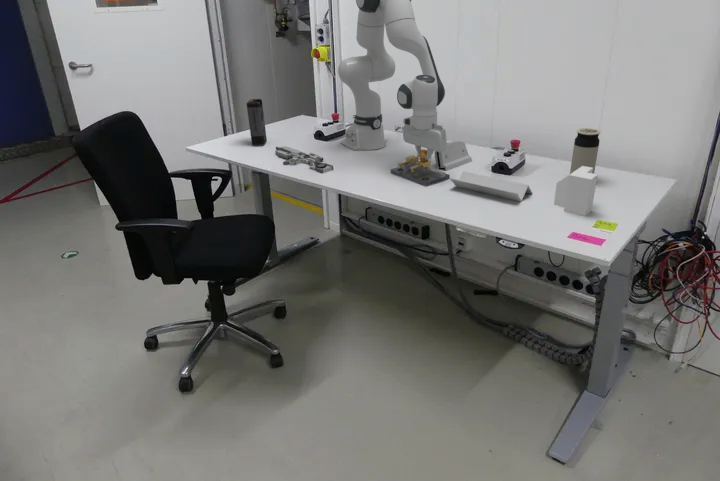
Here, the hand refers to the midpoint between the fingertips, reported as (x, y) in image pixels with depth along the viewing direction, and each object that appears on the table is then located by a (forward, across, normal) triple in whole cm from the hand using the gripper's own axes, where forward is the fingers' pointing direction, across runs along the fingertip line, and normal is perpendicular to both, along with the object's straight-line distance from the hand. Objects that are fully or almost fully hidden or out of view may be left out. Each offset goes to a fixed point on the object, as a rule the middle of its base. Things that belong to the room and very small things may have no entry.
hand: (424, 158), depth 198 cm
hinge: (+7, +1, -17) cm, 18 cm away
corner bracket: (+7, -55, -14) cm, 57 cm away
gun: (+7, +49, +27) cm, 56 cm away
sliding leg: (+5, 0, +2) cm, 5 cm away
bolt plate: (+6, 0, +2) cm, 7 cm away
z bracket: (+7, -29, -4) cm, 30 cm away
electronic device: (+7, +85, +26) cm, 89 cm away
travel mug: (+7, -43, -36) cm, 57 cm away
